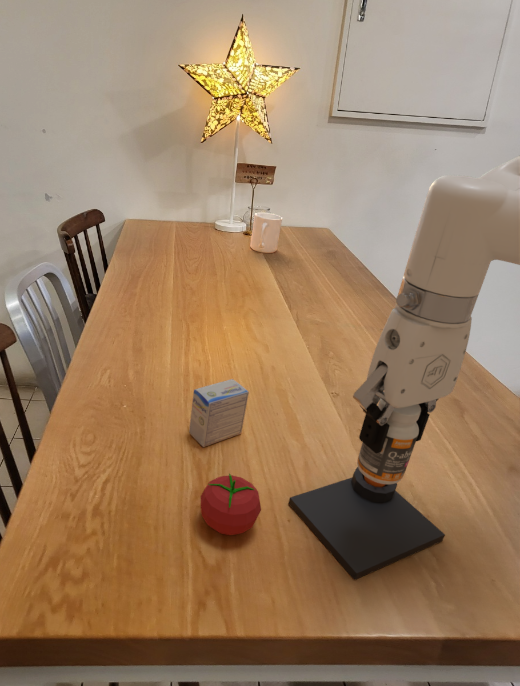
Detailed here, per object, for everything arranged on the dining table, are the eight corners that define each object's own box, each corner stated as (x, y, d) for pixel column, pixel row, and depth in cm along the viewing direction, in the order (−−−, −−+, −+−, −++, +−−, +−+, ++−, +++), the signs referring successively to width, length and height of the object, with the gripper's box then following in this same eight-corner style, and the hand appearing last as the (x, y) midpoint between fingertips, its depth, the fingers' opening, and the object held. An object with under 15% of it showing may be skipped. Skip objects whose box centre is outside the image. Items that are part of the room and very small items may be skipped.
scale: (371, 476, 84) (376, 460, 82) (442, 540, 73) (449, 524, 72) (287, 503, 76) (291, 487, 75) (354, 580, 66) (360, 563, 64)
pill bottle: (386, 493, 63) (410, 423, 59) (346, 466, 67) (366, 399, 62) (411, 474, 67) (435, 408, 62) (372, 450, 70) (392, 385, 66)
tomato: (191, 538, 68) (197, 492, 65) (203, 497, 75) (209, 453, 72) (253, 553, 67) (262, 507, 64) (260, 510, 74) (269, 466, 71)
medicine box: (226, 420, 92) (232, 377, 88) (242, 434, 89) (249, 390, 85) (187, 433, 88) (193, 388, 84) (203, 448, 85) (209, 402, 81)
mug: (275, 247, 192) (281, 214, 187) (278, 257, 182) (284, 222, 176) (249, 243, 192) (254, 211, 186) (250, 253, 181) (255, 219, 176)
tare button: (375, 471, 81) (378, 461, 80) (390, 484, 78) (393, 475, 78) (359, 476, 79) (362, 466, 79) (374, 490, 77) (377, 480, 76)
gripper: (403, 324, 49) (356, 477, 58) (517, 307, 58) (462, 443, 66) (349, 293, 55) (313, 437, 63) (459, 282, 63) (415, 410, 71)
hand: (389, 439), depth 64 cm, fingers closed on pill bottle, 5 cm apart
